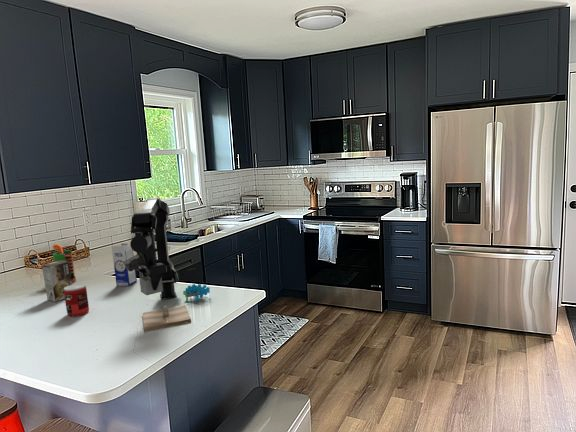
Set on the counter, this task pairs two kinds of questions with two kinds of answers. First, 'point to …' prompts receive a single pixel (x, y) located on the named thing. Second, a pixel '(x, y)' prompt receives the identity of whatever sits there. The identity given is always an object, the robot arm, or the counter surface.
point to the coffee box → (56, 279)
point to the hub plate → (165, 317)
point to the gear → (196, 291)
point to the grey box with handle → (149, 286)
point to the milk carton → (121, 272)
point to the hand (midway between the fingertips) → (151, 288)
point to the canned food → (76, 300)
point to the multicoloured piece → (64, 259)
